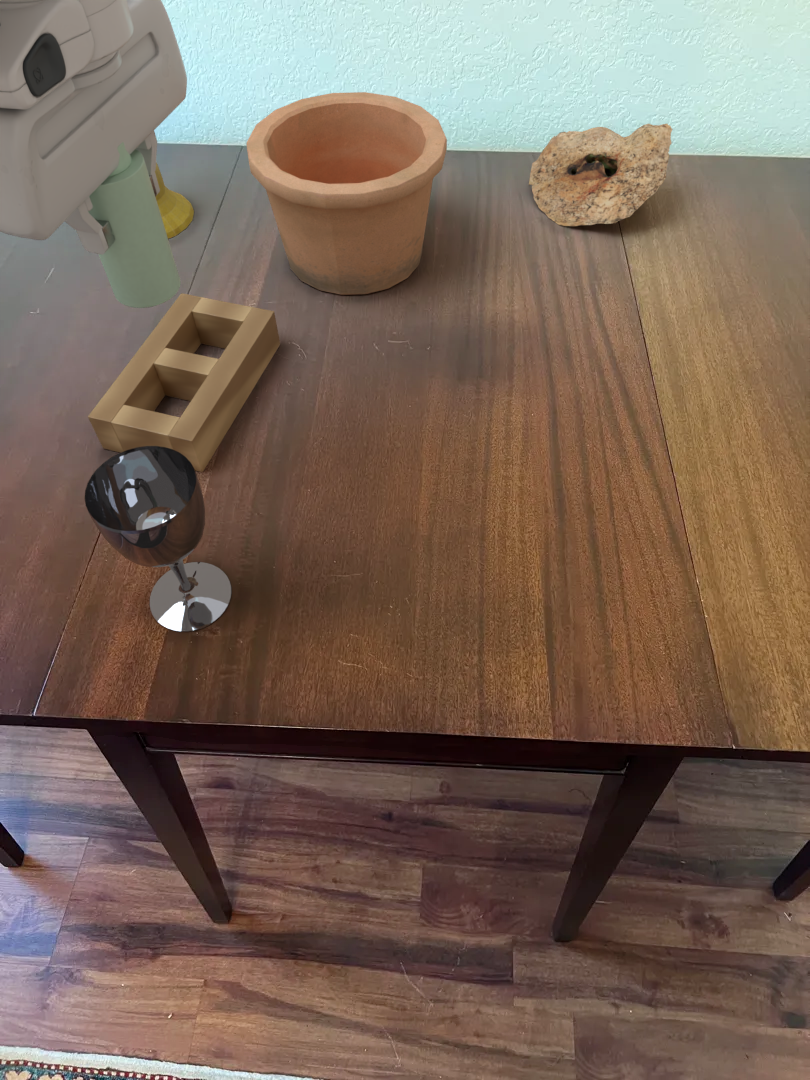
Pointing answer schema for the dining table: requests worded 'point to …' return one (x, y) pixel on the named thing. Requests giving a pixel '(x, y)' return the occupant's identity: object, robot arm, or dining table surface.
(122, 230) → the bottle
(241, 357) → the hollow wooden block
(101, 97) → the robot arm
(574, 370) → the dining table surface
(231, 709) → the dining table surface
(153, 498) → the wine glass
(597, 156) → the rough tan rock
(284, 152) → the pottery
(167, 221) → the handbell
